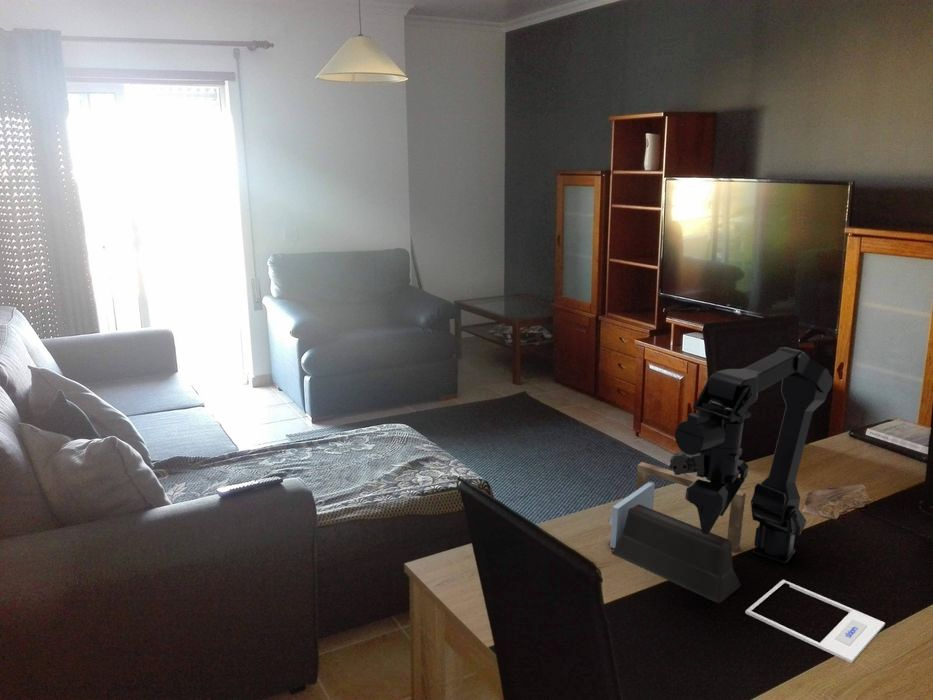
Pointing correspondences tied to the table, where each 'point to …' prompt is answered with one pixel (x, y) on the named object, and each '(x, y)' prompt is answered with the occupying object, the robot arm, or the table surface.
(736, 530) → the door frame
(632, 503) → the door
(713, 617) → the table surface
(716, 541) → the barrier
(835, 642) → the photo frame
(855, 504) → the wooden fragment
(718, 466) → the robot arm
